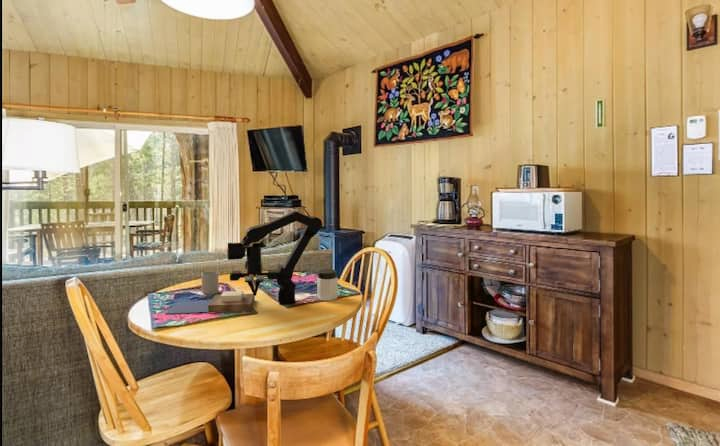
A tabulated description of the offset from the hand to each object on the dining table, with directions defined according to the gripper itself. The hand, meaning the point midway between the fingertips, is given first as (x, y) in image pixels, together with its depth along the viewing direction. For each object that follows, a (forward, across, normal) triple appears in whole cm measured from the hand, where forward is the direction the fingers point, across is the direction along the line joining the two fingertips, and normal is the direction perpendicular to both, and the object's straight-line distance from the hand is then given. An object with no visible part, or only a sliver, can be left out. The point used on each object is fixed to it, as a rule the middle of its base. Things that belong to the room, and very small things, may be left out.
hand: (255, 295), depth 174 cm
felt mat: (+4, +25, 0) cm, 25 cm away
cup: (+4, +23, -23) cm, 33 cm away
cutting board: (+4, +9, 0) cm, 10 cm away
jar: (+4, -30, -7) cm, 31 cm away
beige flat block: (+1, +9, 0) cm, 9 cm away
